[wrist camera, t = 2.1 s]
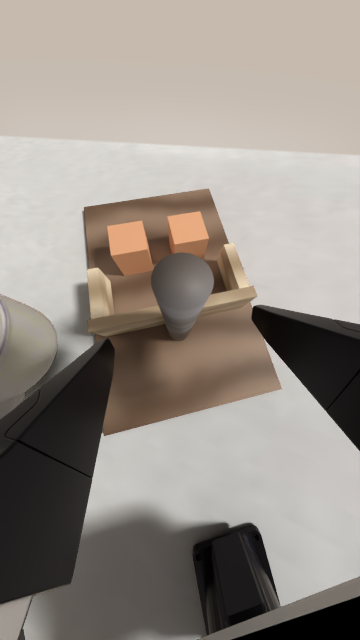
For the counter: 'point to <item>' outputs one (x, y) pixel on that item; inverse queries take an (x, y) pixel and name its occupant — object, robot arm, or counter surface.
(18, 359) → the teacup
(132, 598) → the counter surface
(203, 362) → the board
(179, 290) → the wooden pusher with handle
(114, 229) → the block
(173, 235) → the block
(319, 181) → the counter surface
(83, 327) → the counter surface
